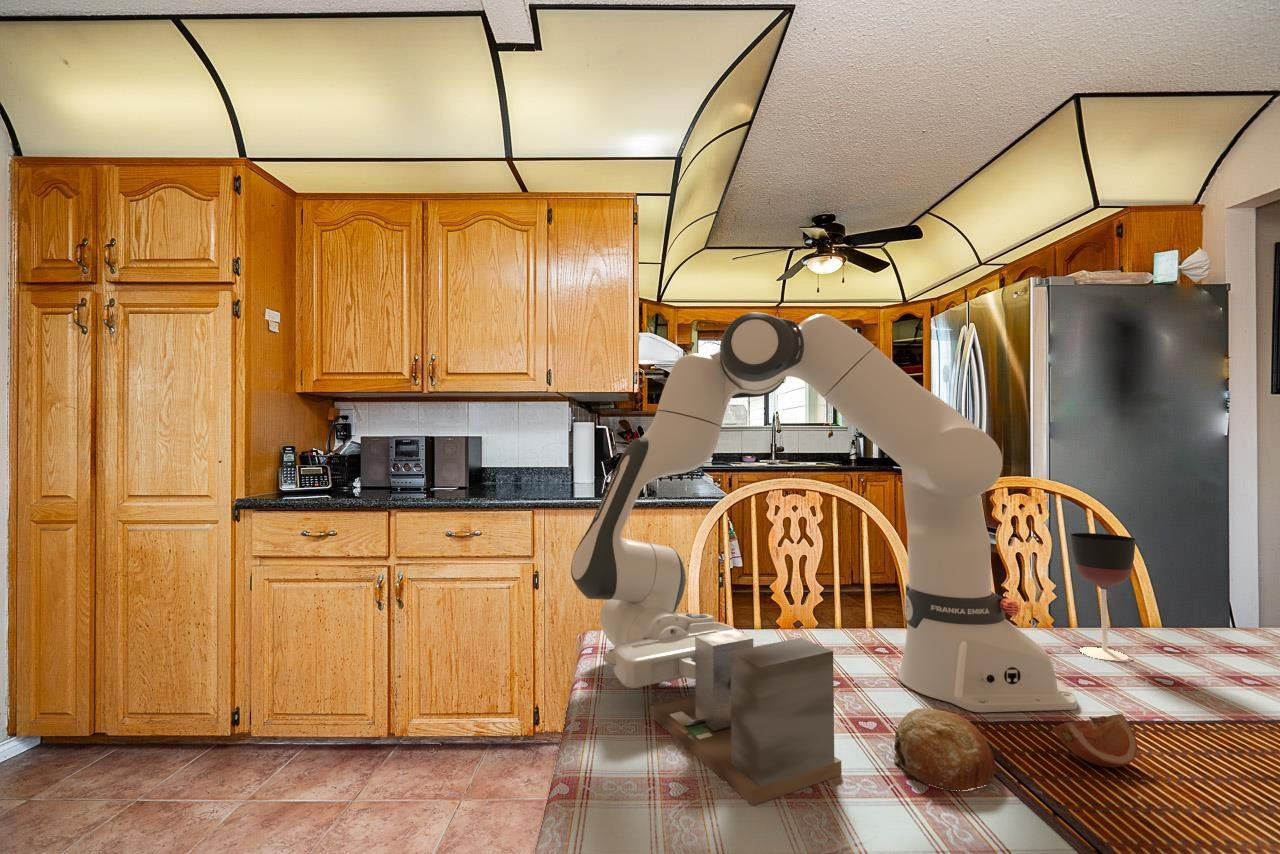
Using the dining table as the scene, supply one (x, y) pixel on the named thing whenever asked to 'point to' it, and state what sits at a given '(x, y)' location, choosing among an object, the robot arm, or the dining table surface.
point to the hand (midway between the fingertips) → (715, 675)
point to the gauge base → (766, 721)
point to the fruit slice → (1100, 740)
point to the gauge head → (715, 676)
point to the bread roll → (943, 750)
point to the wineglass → (1103, 574)
